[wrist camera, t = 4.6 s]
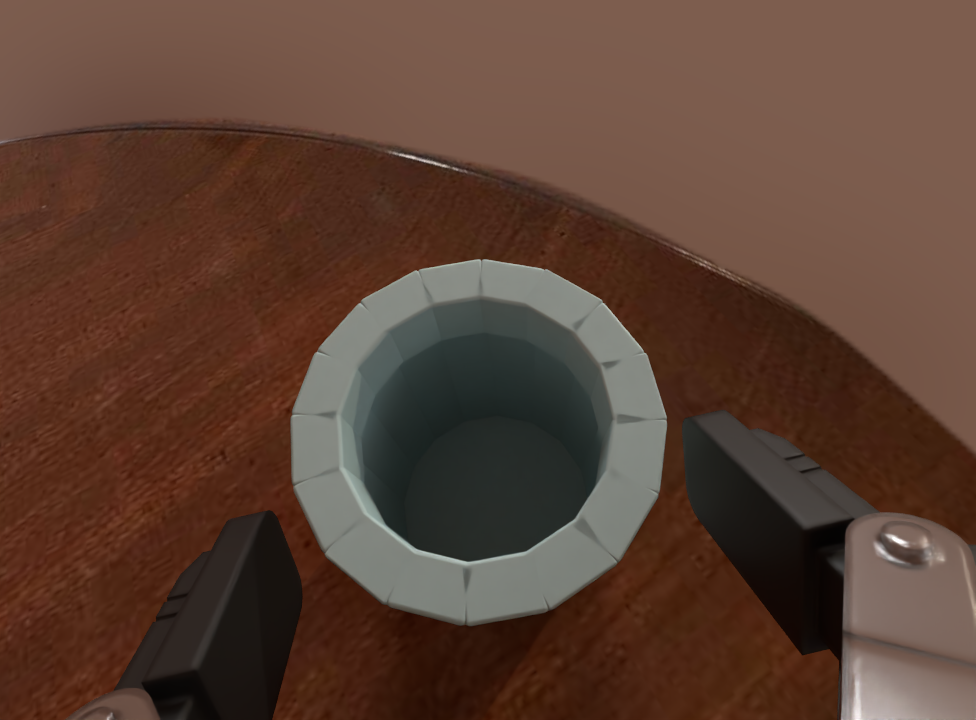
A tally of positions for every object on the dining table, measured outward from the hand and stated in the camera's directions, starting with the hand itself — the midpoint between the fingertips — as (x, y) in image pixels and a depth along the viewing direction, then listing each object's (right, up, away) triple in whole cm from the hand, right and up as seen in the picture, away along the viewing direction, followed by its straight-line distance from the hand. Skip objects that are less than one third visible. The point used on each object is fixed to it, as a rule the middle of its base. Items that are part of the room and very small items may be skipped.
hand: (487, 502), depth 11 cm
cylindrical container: (0, -2, +7) cm, 7 cm away
